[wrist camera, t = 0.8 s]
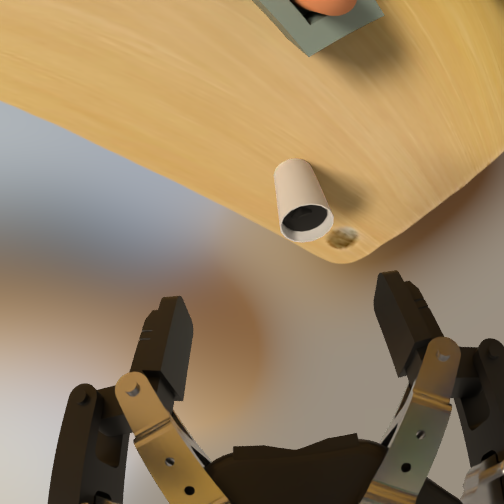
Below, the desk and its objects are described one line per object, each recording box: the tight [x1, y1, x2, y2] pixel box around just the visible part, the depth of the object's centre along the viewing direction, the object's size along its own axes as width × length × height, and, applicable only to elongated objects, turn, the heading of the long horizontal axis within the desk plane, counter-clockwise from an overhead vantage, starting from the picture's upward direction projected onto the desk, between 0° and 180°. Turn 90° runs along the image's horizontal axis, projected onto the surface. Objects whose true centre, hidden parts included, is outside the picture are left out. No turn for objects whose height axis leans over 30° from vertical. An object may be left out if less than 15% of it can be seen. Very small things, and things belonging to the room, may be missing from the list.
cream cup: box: [274, 158, 334, 242], centre depth 38 cm, size 7×7×10 cm
